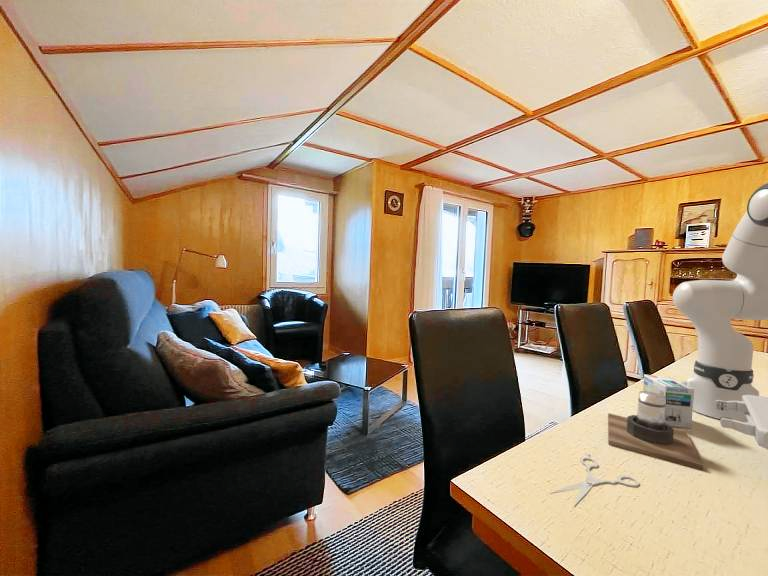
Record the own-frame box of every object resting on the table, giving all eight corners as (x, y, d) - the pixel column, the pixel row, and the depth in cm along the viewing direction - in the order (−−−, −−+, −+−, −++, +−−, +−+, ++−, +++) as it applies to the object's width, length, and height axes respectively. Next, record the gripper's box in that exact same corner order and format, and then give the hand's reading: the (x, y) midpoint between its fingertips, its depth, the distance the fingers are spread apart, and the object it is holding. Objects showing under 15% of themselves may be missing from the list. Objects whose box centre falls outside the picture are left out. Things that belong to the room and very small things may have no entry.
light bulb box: (692, 429, 85) (696, 388, 84) (662, 426, 86) (666, 386, 86) (665, 412, 95) (669, 375, 95) (639, 409, 97) (642, 373, 96)
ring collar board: (608, 416, 91) (609, 402, 90) (685, 434, 82) (686, 419, 82) (608, 444, 76) (609, 427, 76) (702, 470, 67) (704, 451, 67)
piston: (634, 428, 82) (637, 389, 82) (660, 434, 80) (664, 394, 79) (636, 436, 78) (640, 395, 77) (664, 443, 75) (668, 400, 75)
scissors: (644, 479, 63) (594, 518, 52) (644, 483, 63) (593, 523, 52) (586, 452, 72) (532, 481, 61) (586, 455, 72) (532, 485, 61)
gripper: (802, 394, 71) (713, 383, 81) (839, 437, 56) (723, 417, 65) (802, 422, 72) (713, 408, 81) (838, 471, 57) (723, 447, 66)
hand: (718, 412), depth 73 cm, fingers open, 8 cm apart
